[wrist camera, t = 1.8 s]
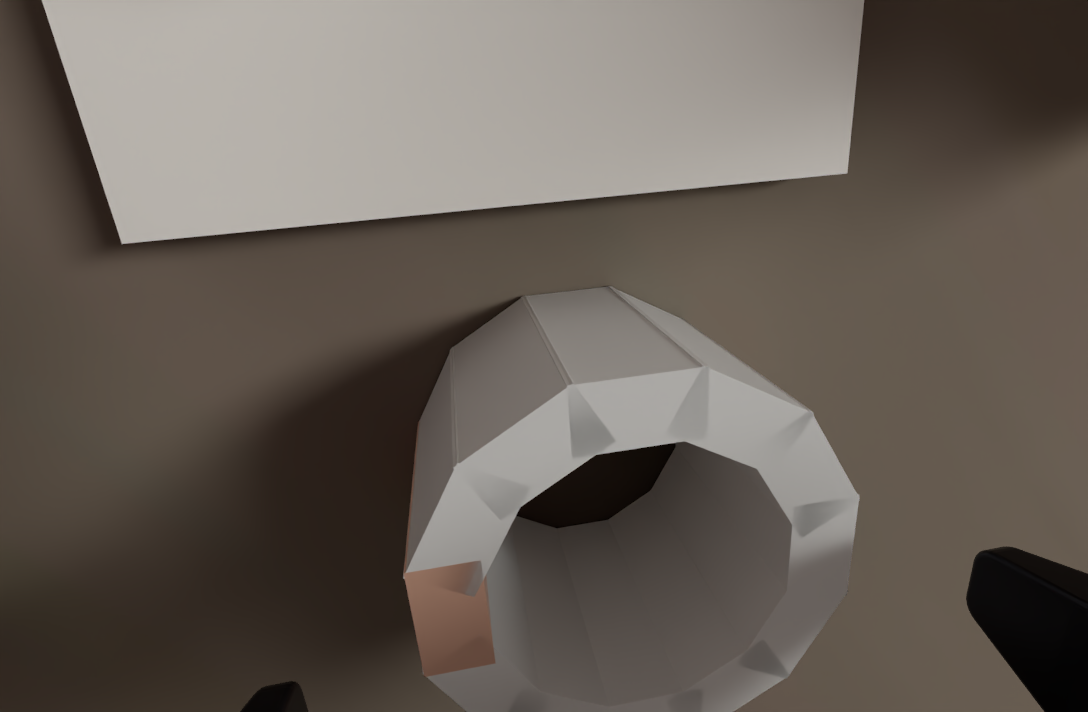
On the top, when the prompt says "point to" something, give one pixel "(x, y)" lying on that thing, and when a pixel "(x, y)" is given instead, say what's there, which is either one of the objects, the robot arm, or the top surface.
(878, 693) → the top surface
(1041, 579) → the robot arm
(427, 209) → the post base
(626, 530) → the ring
